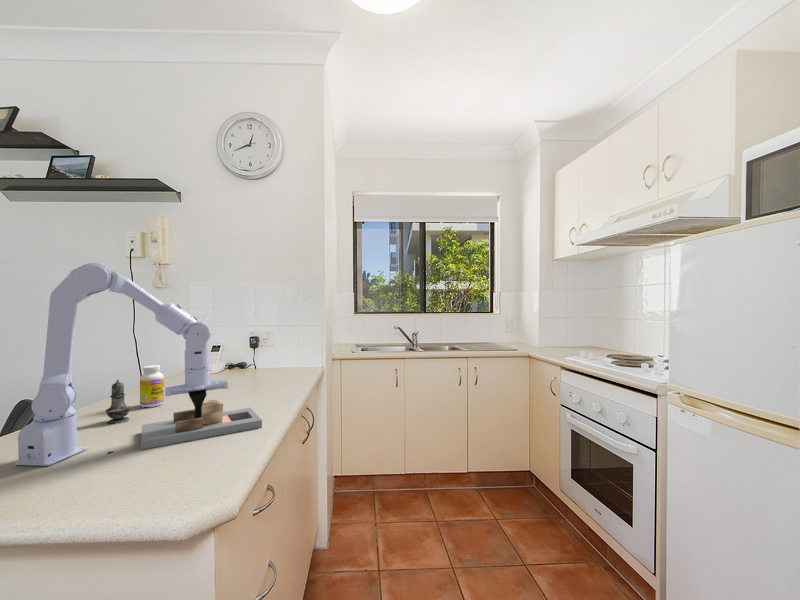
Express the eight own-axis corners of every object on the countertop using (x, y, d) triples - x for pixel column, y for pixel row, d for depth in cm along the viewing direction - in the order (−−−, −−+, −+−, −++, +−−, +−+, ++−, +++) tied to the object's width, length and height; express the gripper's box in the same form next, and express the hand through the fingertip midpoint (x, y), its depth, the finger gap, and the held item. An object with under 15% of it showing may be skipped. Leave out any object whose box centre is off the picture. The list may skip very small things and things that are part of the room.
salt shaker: (135, 418, 115) (135, 377, 114) (119, 424, 109) (118, 381, 109) (117, 417, 115) (116, 377, 115) (100, 424, 109) (99, 381, 109)
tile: (208, 432, 101) (208, 425, 101) (205, 425, 107) (205, 418, 107) (231, 428, 104) (231, 421, 104) (227, 421, 110) (227, 415, 110)
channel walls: (175, 432, 95) (175, 422, 95) (173, 421, 104) (173, 412, 104) (203, 428, 99) (202, 418, 99) (198, 417, 107) (198, 408, 107)
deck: (141, 449, 90) (141, 441, 90) (142, 432, 102) (142, 424, 102) (261, 427, 105) (261, 419, 105) (250, 414, 117) (250, 407, 117)
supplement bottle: (150, 409, 124) (149, 368, 124) (135, 407, 126) (134, 367, 126) (168, 403, 130) (168, 364, 130) (153, 402, 132) (153, 364, 132)
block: (201, 424, 101) (202, 405, 101) (199, 419, 105) (200, 400, 105) (222, 422, 104) (223, 403, 104) (220, 417, 108) (220, 399, 108)
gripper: (165, 373, 95) (166, 428, 95) (229, 366, 103) (230, 418, 103) (164, 369, 101) (165, 421, 101) (225, 363, 109) (225, 411, 109)
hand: (198, 419), depth 103 cm, fingers closed, pressing on block
